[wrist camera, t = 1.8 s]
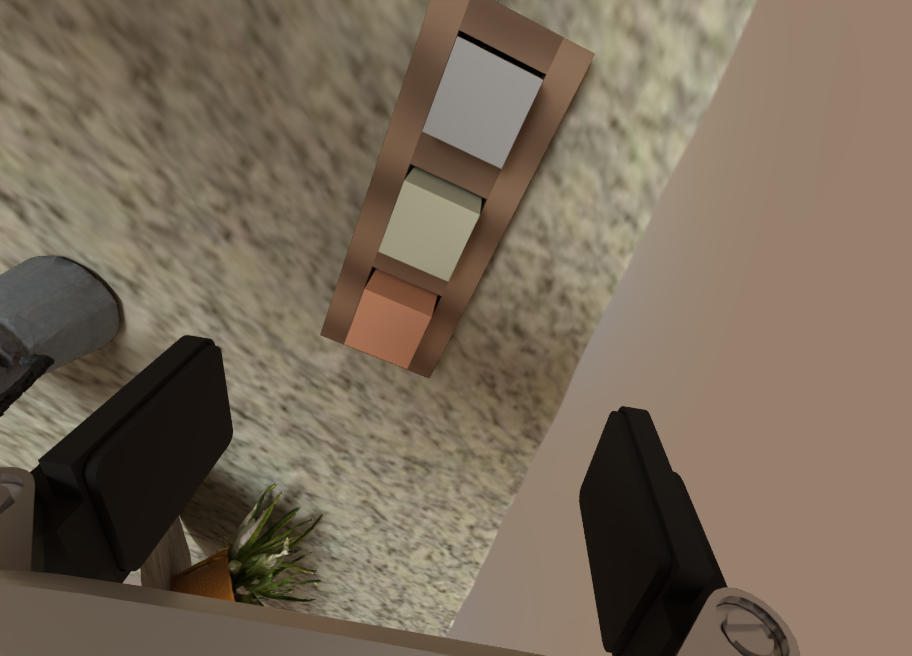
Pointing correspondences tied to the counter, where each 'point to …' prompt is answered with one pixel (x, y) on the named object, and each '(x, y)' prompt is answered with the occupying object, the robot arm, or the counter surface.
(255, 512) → the potted plant
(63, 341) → the moka pot
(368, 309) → the terracotta button
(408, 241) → the sage button
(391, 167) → the walnut panel
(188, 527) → the counter surface
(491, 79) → the slate button
